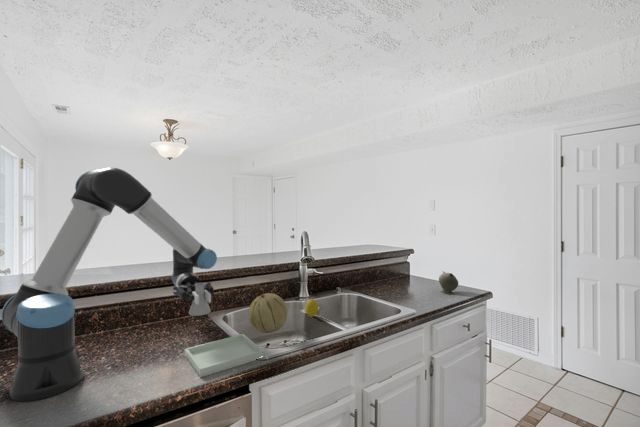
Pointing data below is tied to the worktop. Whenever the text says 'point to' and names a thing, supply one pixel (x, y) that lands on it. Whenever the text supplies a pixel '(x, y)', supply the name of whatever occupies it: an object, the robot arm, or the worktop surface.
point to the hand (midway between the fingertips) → (203, 299)
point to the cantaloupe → (268, 313)
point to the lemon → (311, 307)
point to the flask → (203, 304)
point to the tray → (222, 354)
